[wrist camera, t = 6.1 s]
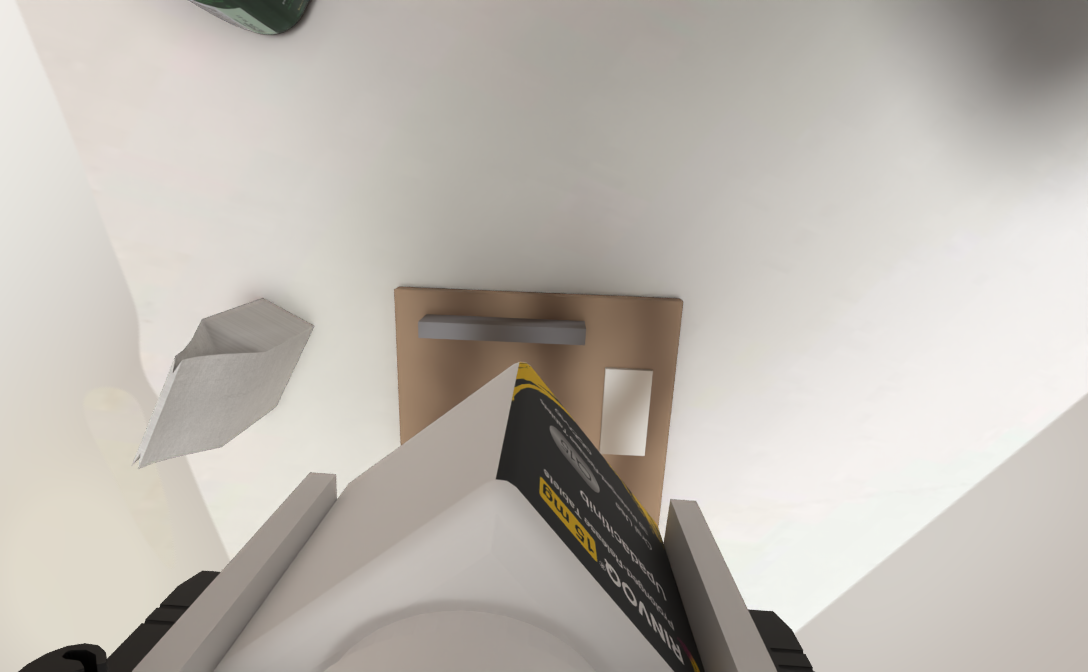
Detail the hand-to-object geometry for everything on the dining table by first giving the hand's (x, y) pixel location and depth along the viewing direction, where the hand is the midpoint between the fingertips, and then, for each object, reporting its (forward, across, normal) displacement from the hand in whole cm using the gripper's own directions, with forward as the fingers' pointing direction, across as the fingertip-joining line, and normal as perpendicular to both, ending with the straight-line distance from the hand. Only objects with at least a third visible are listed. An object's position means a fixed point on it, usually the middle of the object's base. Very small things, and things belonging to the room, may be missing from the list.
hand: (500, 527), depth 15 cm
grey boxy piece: (+20, -18, -2) cm, 27 cm away
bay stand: (+19, +1, -11) cm, 23 cm away
